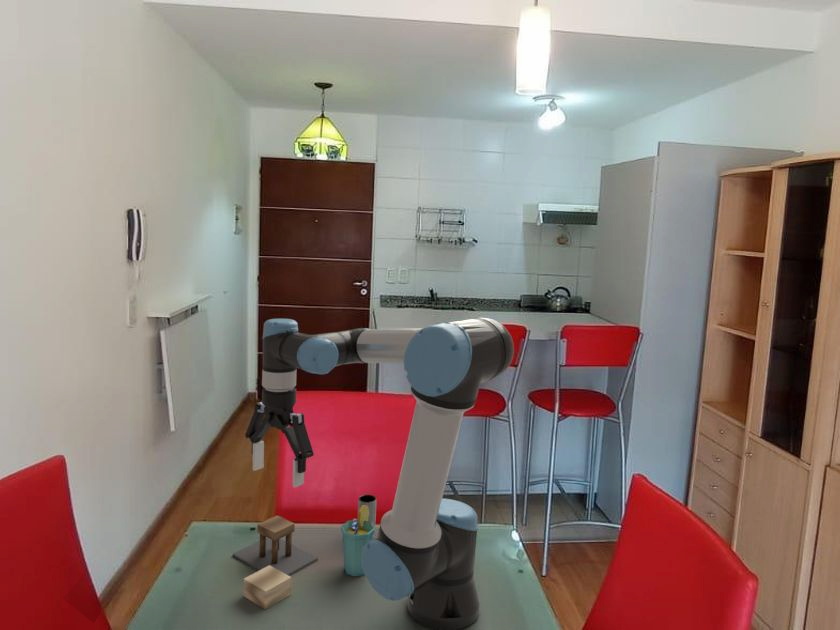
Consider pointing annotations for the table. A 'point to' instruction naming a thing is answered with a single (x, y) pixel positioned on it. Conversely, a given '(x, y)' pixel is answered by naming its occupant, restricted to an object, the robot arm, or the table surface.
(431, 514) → the robot arm
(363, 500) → the grey hollow cylinder
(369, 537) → the cup
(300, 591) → the table surface
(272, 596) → the oak block
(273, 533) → the stool
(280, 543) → the mat
